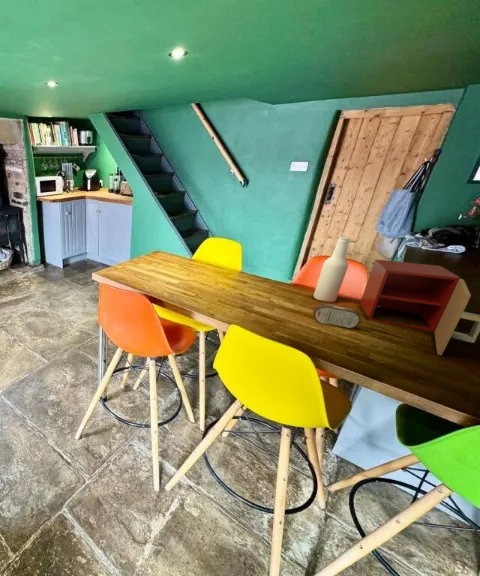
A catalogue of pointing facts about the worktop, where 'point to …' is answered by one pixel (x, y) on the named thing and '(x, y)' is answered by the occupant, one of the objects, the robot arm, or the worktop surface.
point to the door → (456, 319)
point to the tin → (337, 315)
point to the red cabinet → (409, 290)
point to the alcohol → (333, 273)
